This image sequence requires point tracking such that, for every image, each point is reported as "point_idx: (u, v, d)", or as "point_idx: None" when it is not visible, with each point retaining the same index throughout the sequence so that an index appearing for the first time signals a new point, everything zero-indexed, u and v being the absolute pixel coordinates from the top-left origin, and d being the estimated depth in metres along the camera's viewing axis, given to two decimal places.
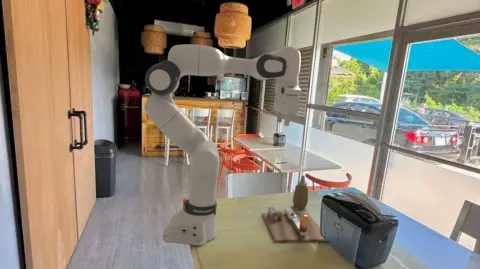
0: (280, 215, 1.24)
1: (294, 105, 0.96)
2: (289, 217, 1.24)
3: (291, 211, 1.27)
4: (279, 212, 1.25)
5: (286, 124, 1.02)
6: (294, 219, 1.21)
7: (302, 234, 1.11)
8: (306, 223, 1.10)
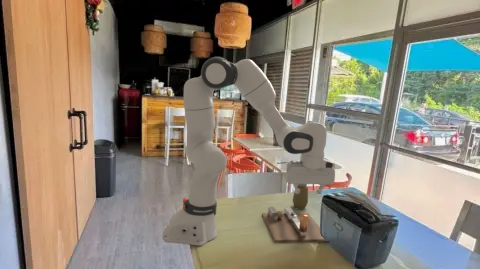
0: (280, 215, 1.24)
1: None
2: (289, 217, 1.24)
3: (291, 211, 1.27)
4: (279, 212, 1.25)
5: None
6: (294, 219, 1.21)
7: (302, 234, 1.11)
8: (306, 223, 1.10)
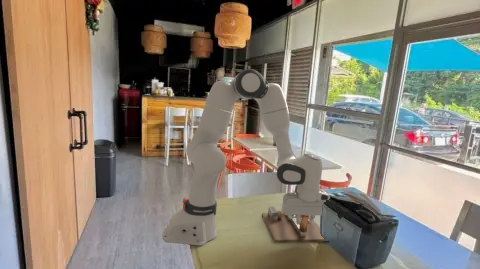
0: (280, 215, 1.24)
1: None
2: (289, 217, 1.24)
3: None
4: (279, 212, 1.25)
5: None
6: (294, 219, 1.21)
7: (302, 234, 1.11)
8: (306, 223, 1.10)
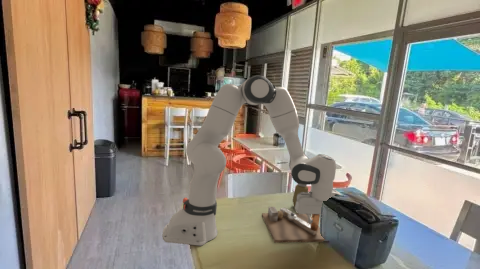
0: (280, 215, 1.24)
1: None
2: (291, 218, 1.23)
3: (289, 211, 1.27)
4: (279, 212, 1.25)
5: None
6: (297, 219, 1.22)
7: (314, 232, 1.14)
8: (318, 221, 1.13)
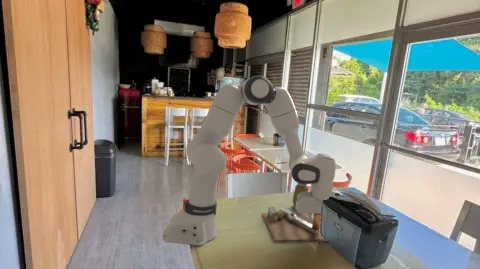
0: (280, 215, 1.24)
1: None
2: (291, 218, 1.23)
3: (288, 211, 1.27)
4: (279, 212, 1.25)
5: None
6: (297, 219, 1.22)
7: (316, 232, 1.14)
8: (320, 220, 1.13)
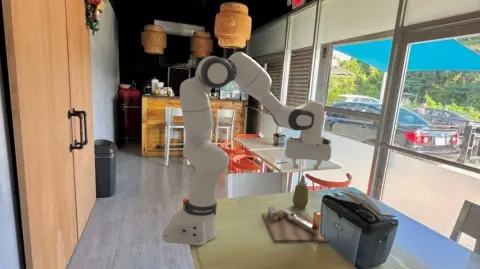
0: (280, 215, 1.24)
1: None
2: (291, 218, 1.23)
3: (288, 211, 1.27)
4: (279, 212, 1.25)
5: None
6: (297, 219, 1.22)
7: (316, 232, 1.14)
8: (320, 220, 1.13)
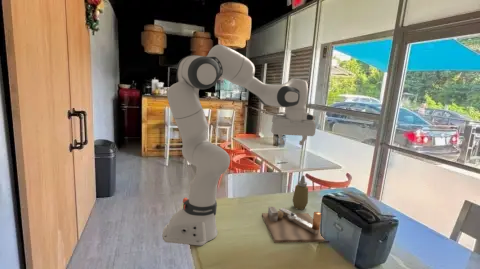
0: (280, 215, 1.24)
1: None
2: (291, 218, 1.23)
3: (288, 211, 1.27)
4: (279, 212, 1.25)
5: None
6: (297, 219, 1.22)
7: (316, 232, 1.14)
8: (320, 220, 1.13)
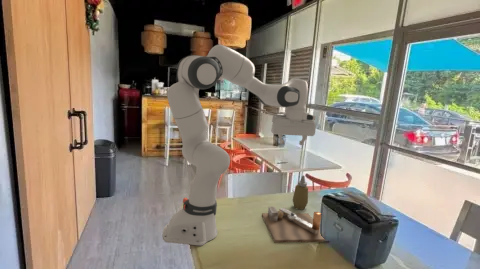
0: (280, 215, 1.24)
1: None
2: (291, 218, 1.23)
3: (288, 211, 1.27)
4: (279, 212, 1.25)
5: None
6: (297, 219, 1.22)
7: (316, 232, 1.14)
8: (320, 220, 1.13)
